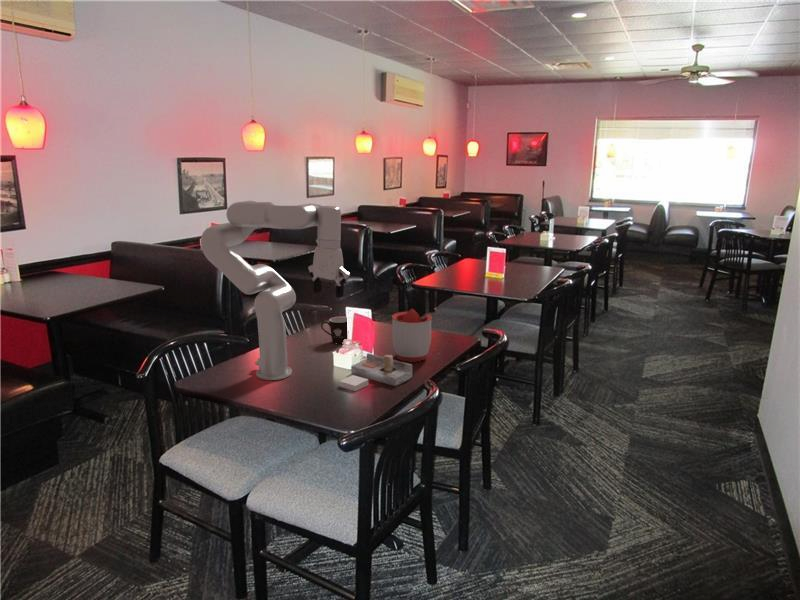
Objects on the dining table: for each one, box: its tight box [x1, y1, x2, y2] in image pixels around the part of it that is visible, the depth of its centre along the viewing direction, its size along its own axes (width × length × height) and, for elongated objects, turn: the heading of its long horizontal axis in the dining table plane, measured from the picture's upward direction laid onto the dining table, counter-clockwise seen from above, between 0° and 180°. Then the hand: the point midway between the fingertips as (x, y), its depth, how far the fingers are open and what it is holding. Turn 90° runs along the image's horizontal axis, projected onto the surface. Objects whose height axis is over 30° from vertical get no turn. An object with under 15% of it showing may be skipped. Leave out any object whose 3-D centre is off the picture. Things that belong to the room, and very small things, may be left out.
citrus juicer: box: [391, 308, 433, 363], centre depth 219 cm, size 16×17×20 cm
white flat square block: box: [339, 374, 369, 392], centre depth 193 cm, size 7×7×2 cm
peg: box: [383, 354, 394, 373], centre depth 200 cm, size 3×3×8 cm
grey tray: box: [350, 352, 413, 387], centre depth 202 cm, size 20×10×5 cm, turn 55°
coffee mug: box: [320, 316, 348, 345], centre depth 239 cm, size 12×9×10 cm
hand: (328, 294), depth 189 cm, fingers open, 9 cm apart
